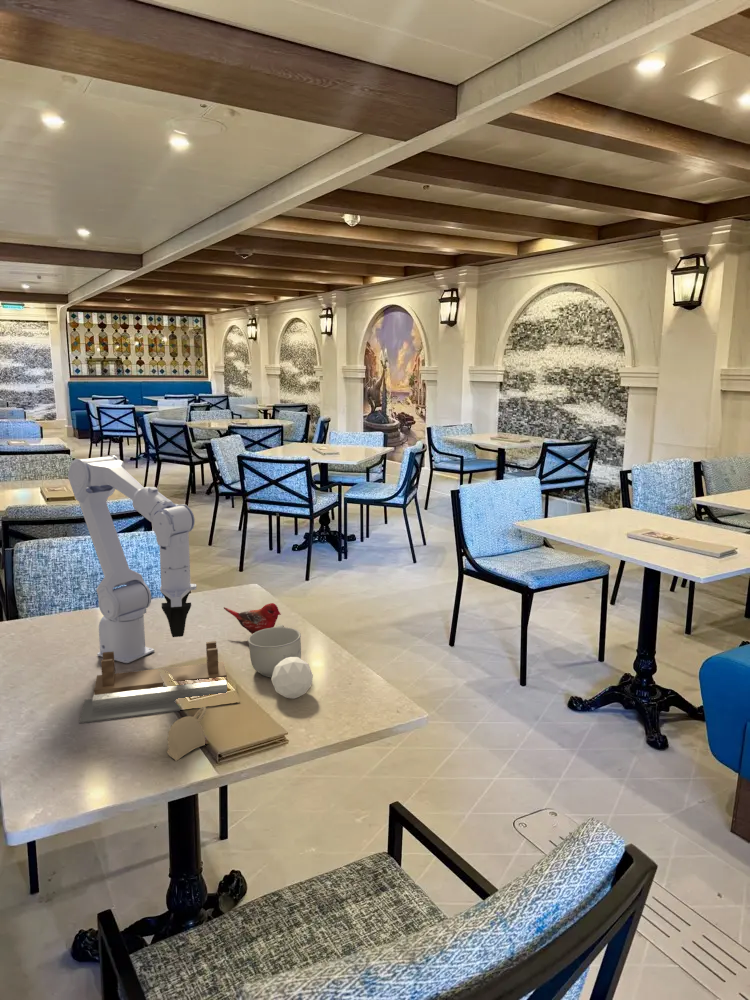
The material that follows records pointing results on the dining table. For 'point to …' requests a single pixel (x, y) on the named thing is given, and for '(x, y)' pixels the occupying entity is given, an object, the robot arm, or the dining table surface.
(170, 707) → the mat
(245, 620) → the decorative bird figurine
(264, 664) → the teacup
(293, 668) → the geometric ball
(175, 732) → the decorative ornament
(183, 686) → the steel bar
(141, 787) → the dining table surface
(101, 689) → the hook stands
